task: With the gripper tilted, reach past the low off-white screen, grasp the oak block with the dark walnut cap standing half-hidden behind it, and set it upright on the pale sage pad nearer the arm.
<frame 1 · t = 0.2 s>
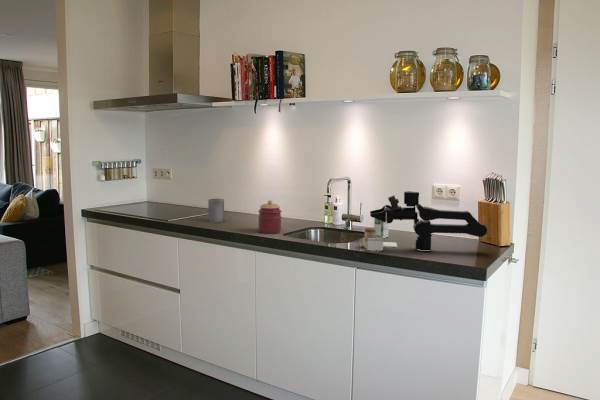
hand: (370, 213, 218), 17 cm above the worktop, tool horizontal, fingers open, 9 cm apart
pillar candle: (216, 221, 290), on the worktop
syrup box: (380, 238, 245), on the worktop
screen: (375, 250, 214), on the worktop
canister: (269, 232, 258), on the worktop
oak block: (369, 247, 222), on the worktop
display pad: (387, 246, 225), on the worktop
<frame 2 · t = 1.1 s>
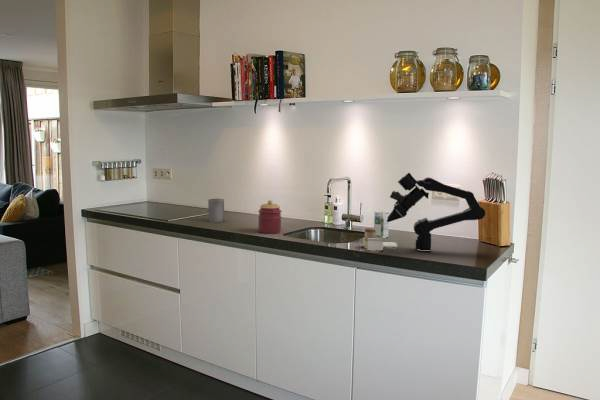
hand: (387, 219, 219), 14 cm above the worktop, tool tilted 45°, fingers open, 9 cm apart
nothing on the worktop moved.
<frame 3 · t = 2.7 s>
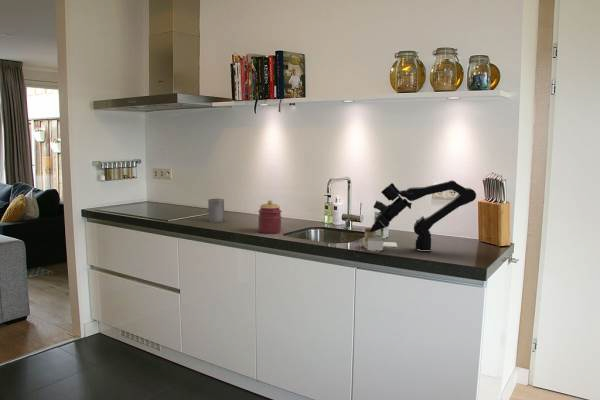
hand: (371, 229, 221), 9 cm above the worktop, tool tilted 45°, fingers open, 9 cm apart
nothing on the worktop moved.
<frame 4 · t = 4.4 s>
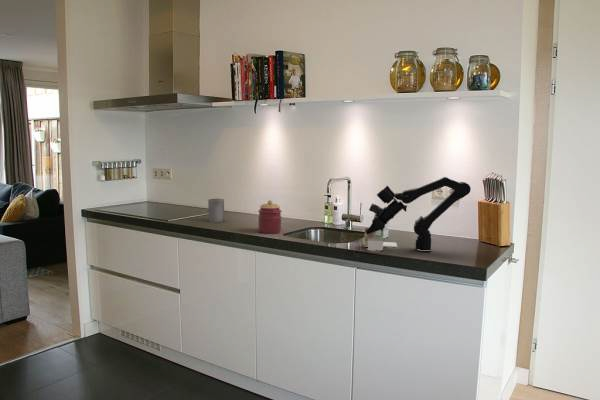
hand: (367, 232, 222), 7 cm above the worktop, tool tilted 45°, fingers closed on oak block, 5 cm apart
oak block: (369, 247, 222), on the worktop, touching gripper
everything else where it was.
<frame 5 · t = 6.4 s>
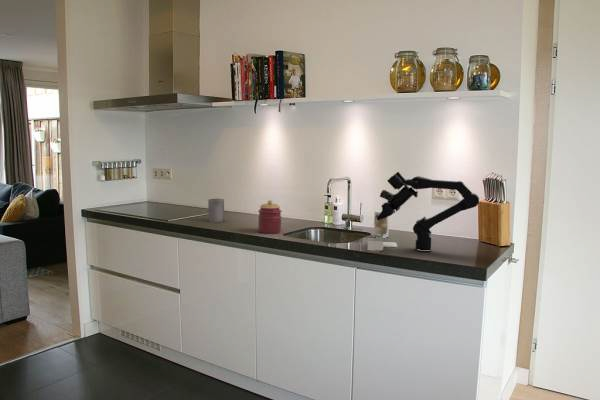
hand: (378, 218, 223), 14 cm above the worktop, tool tilted 45°, fingers closed on oak block, 5 cm apart
oak block: (381, 233, 223), point 6 cm above the worktop, touching gripper
everything else where it was.
when the fingers open (9 cm above the worktop, at t = 8.5 s): oak block drops 1 cm, resting on display pad.
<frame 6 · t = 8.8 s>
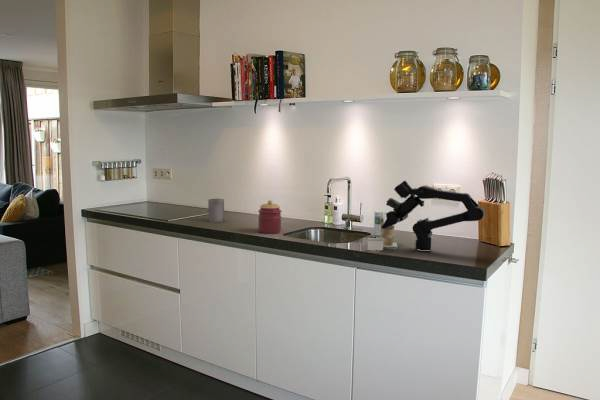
hand: (385, 226, 224), 10 cm above the worktop, tool tilted 45°, fingers open, 9 cm apart
oak block: (387, 244, 225), point 1 cm above the worktop, touching display pad
everything else where it was.
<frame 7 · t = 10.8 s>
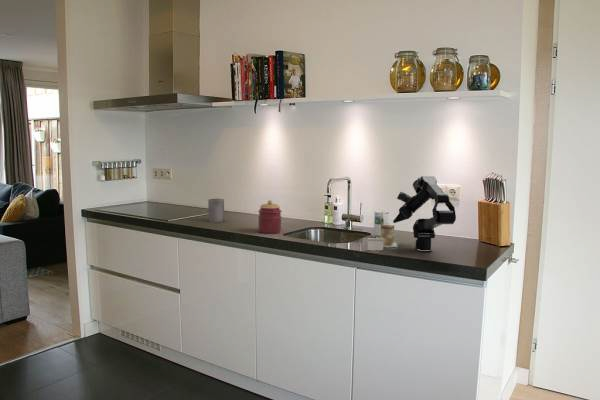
hand: (395, 220, 222), 13 cm above the worktop, tool tilted 45°, fingers open, 9 cm apart
nothing on the worktop moved.
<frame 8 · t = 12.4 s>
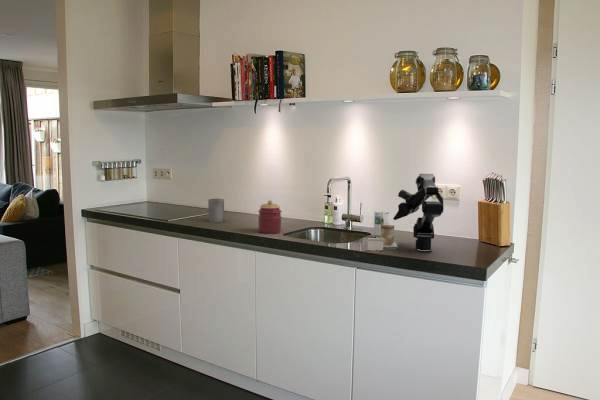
hand: (396, 218, 225), 14 cm above the worktop, tool tilted 45°, fingers open, 9 cm apart
nothing on the worktop moved.
at the end: oak block 0.0 cm off-centre on the display pad, point 1.0 cm above the display pad's base; oak block tilted 0°; the gripper is holding nothing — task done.
